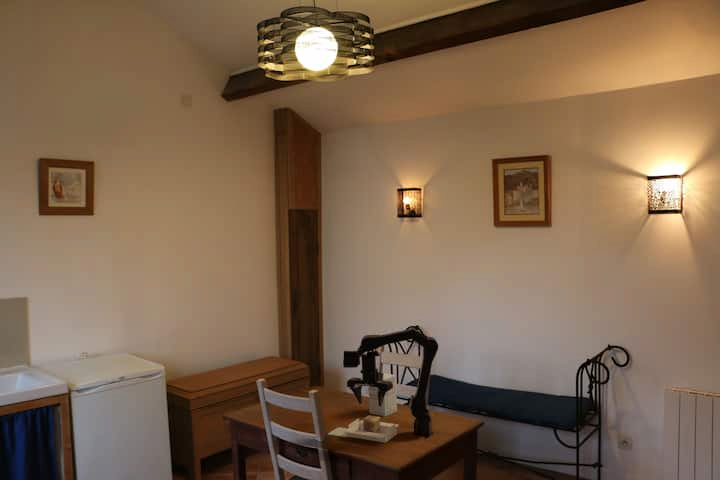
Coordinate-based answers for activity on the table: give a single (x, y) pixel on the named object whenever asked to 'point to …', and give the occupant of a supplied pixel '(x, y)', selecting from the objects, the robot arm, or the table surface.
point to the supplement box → (389, 398)
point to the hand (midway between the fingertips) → (370, 405)
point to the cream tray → (385, 432)
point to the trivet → (339, 432)
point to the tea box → (371, 424)
